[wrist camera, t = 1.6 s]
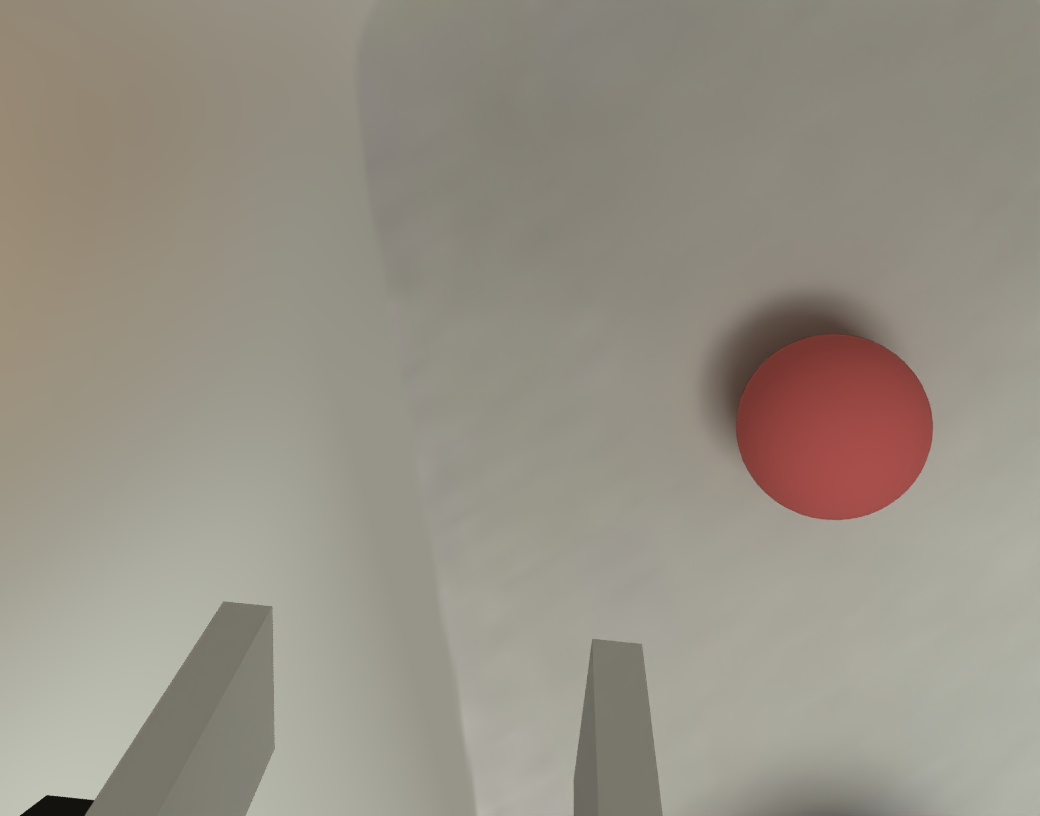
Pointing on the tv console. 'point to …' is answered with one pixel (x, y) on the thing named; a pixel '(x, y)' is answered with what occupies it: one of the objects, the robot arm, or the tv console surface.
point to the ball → (834, 426)
